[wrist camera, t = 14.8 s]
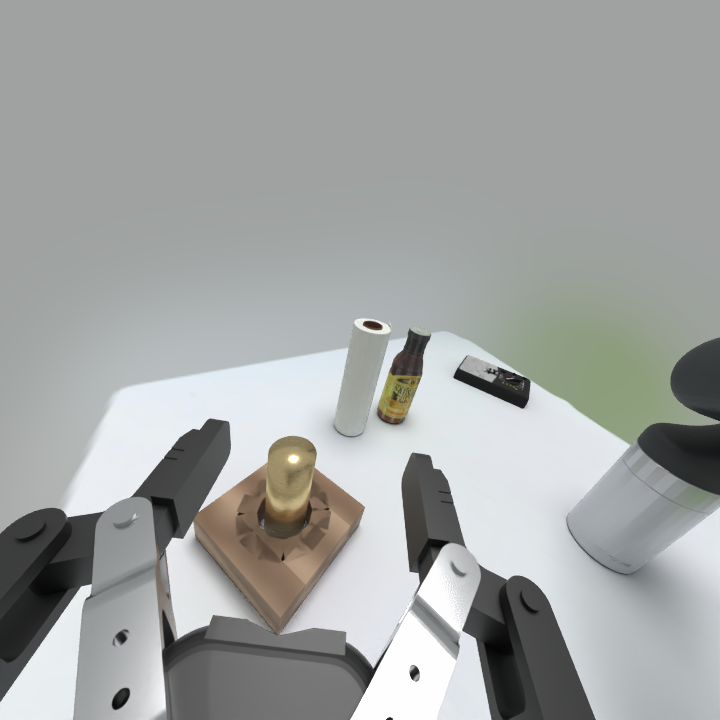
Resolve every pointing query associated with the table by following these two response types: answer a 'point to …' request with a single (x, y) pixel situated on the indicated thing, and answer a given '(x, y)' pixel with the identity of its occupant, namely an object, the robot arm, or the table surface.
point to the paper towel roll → (361, 375)
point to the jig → (276, 543)
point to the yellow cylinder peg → (288, 486)
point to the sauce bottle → (404, 377)
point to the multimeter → (494, 381)
